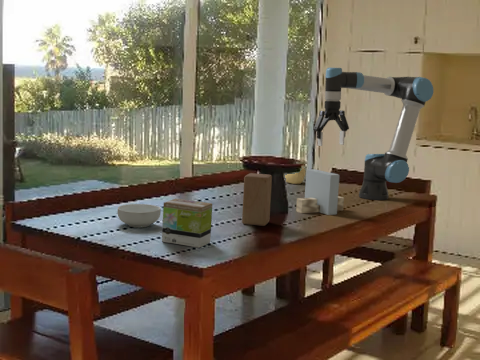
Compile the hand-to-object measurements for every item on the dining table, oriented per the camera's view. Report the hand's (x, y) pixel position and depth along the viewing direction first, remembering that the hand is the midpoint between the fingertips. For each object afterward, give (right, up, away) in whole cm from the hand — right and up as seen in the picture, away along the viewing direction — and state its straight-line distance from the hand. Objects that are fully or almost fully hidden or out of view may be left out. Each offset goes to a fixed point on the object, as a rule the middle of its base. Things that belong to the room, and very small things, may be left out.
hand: (330, 145), depth 350 cm
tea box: (-63, -39, -89) cm, 116 cm away
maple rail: (-7, -31, -14) cm, 35 cm away
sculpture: (-13, -19, +68) cm, 72 cm away
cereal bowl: (-83, -35, -65) cm, 111 cm away
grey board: (-7, -31, -14) cm, 35 cm away
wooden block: (-37, -35, -49) cm, 71 cm away
